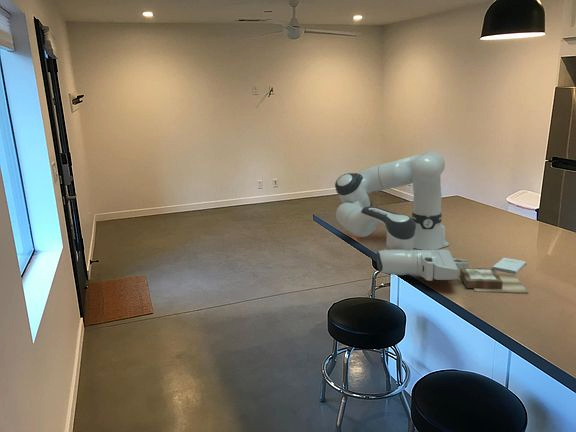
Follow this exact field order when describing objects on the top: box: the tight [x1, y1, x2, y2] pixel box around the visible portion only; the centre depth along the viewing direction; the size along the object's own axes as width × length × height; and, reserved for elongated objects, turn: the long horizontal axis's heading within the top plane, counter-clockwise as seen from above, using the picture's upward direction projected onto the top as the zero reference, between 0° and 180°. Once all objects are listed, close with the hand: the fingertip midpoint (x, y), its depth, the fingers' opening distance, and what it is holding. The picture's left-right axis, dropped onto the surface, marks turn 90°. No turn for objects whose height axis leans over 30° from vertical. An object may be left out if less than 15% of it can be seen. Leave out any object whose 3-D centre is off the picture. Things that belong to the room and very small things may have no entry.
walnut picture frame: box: [459, 267, 503, 289], centre depth 158 cm, size 12×3×11 cm
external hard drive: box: [491, 257, 527, 275], centre depth 171 cm, size 2×8×12 cm
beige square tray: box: [472, 273, 529, 295], centre depth 157 cm, size 16×16×1 cm
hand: (467, 264), depth 157 cm, fingers closed
